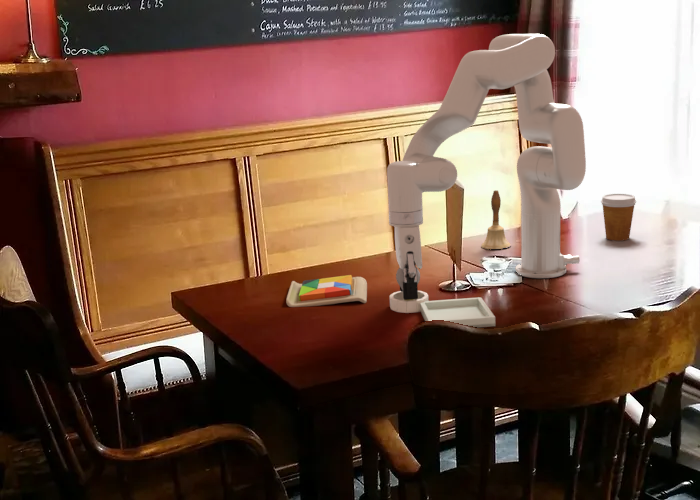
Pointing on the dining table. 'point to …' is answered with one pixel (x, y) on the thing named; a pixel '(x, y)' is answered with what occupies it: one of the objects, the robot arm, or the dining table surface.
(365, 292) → the wooden puzzle
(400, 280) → the light bulb
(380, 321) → the dining table surface
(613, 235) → the disposable coffee cup
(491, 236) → the hand bell
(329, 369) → the dining table surface
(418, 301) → the holder ring
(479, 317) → the tray
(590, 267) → the dining table surface
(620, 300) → the dining table surface
